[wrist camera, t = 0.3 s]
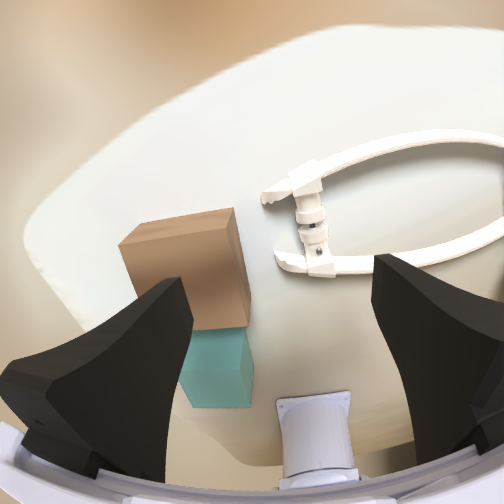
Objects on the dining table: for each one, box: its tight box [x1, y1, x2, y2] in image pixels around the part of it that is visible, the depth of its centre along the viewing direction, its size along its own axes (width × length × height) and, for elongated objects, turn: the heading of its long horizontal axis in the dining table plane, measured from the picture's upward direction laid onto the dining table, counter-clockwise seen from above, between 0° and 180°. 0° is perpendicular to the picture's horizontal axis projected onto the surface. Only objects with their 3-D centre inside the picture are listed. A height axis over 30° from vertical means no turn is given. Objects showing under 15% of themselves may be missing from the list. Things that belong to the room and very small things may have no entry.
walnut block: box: [118, 208, 251, 330], centre depth 20 cm, size 7×7×4 cm
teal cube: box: [178, 327, 254, 408], centre depth 23 cm, size 5×5×5 cm
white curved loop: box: [260, 129, 504, 278], centre depth 17 cm, size 3×10×25 cm
